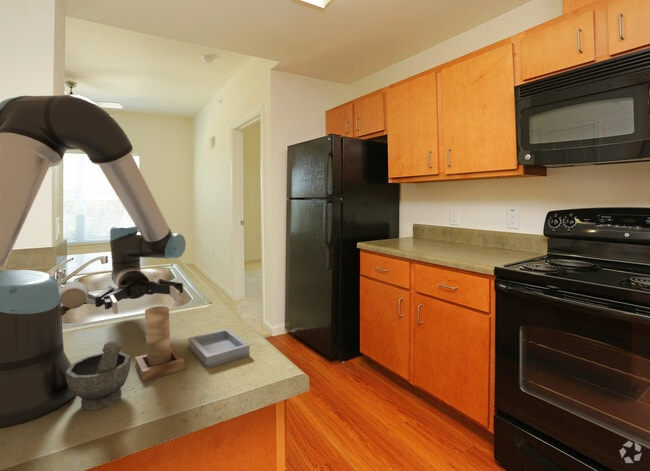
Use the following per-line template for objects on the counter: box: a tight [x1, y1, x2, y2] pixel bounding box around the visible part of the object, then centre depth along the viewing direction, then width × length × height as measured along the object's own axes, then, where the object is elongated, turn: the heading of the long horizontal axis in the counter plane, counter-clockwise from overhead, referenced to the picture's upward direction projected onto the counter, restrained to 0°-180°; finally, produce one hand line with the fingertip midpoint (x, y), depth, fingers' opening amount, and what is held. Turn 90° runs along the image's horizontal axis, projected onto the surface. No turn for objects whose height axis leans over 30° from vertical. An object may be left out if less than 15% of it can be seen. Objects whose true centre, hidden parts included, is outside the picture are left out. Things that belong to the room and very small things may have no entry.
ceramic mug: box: [60, 281, 96, 309], centre depth 117 cm, size 11×8×8 cm
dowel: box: [144, 305, 172, 368], centre depth 75 cm, size 5×5×13 cm
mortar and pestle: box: [66, 340, 131, 410], centre depth 63 cm, size 11×9×12 cm
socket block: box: [134, 347, 186, 382], centre depth 75 cm, size 8×8×2 cm
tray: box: [188, 328, 250, 369], centre depth 83 cm, size 10×13×2 cm
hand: (148, 302), depth 83 cm, fingers open, 13 cm apart
